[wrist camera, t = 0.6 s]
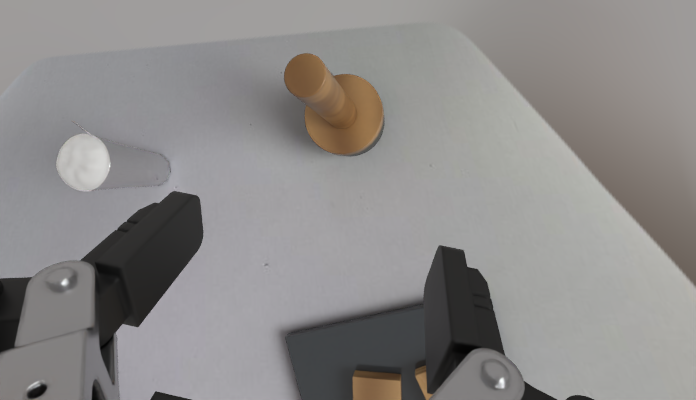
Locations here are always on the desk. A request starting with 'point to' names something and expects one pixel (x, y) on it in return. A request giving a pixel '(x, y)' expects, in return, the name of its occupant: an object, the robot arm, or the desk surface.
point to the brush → (336, 106)
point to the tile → (359, 353)
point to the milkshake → (108, 164)
